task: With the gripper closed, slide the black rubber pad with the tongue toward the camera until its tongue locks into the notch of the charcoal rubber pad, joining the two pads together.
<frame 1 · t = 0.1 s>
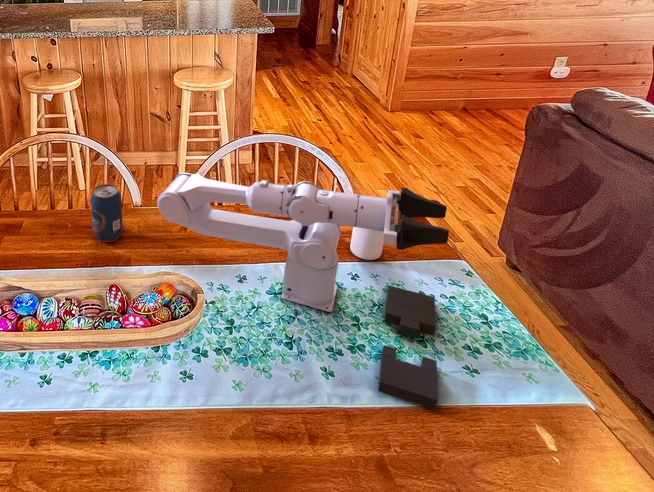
hand: (447, 223, 83), 22 cm above the table, tool horizontal, fingers open, 7 cm apart
soda can: (108, 235, 119), on the table
notch pad: (406, 379, 81), on the table
can: (365, 252, 111), on the table
tab pad: (408, 313, 94), on the table
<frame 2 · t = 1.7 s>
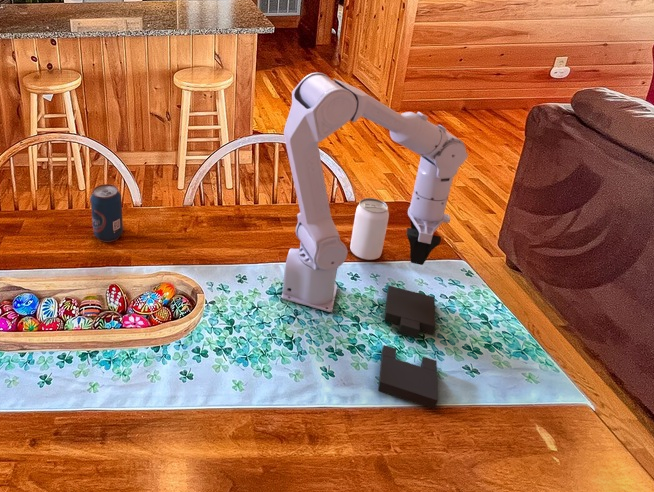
hand: (416, 252, 99), 7 cm above the table, tool pointing down, fingers open, 6 cm apart
nothing on the table moved.
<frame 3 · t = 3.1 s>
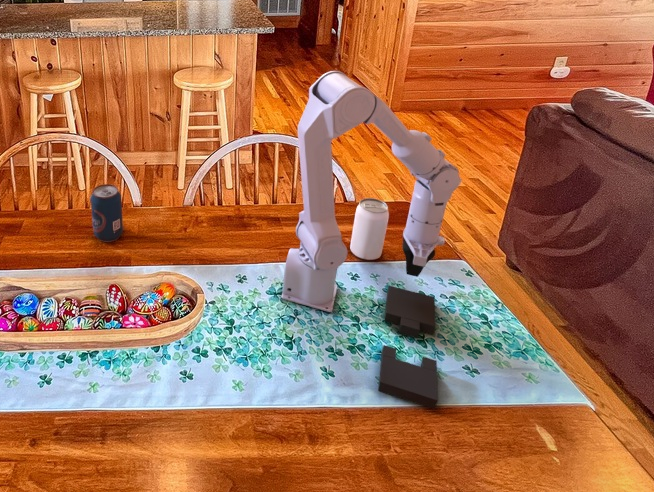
hand: (412, 273, 101), 3 cm above the table, tool pointing down, fingers closed
nothing on the table moved.
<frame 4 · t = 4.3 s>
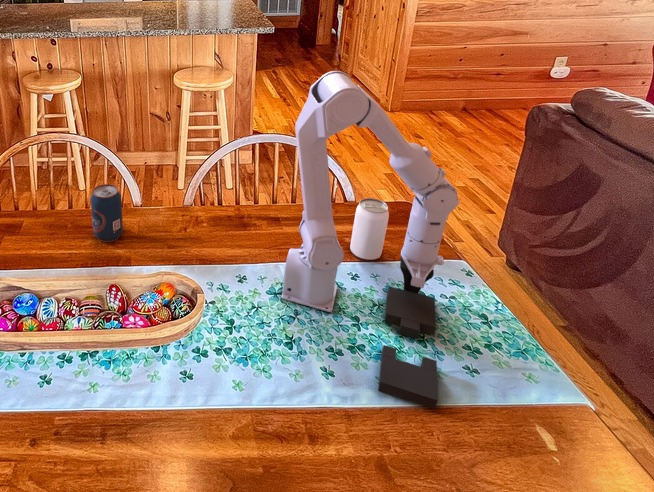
hand: (410, 293, 98), 1 cm above the table, tool pointing down, fingers closed
tab pad: (408, 313, 94), on the table, touching gripper
everything else where it was.
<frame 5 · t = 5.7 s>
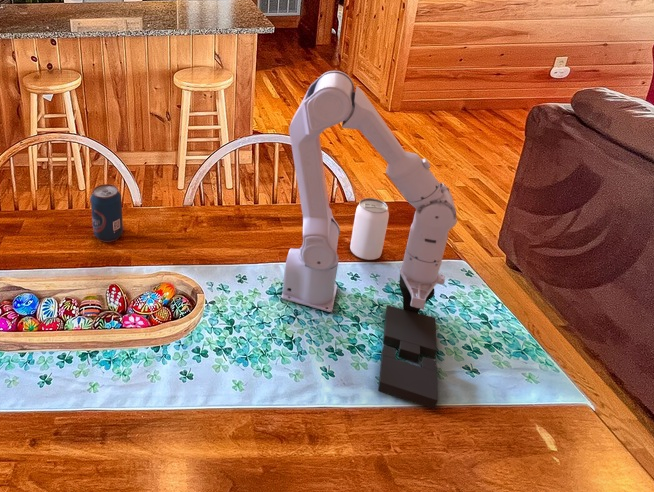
hand: (409, 312, 93), 1 cm above the table, tool pointing down, fingers closed
tab pad: (408, 334, 90), on the table, touching gripper
everything else where it was.
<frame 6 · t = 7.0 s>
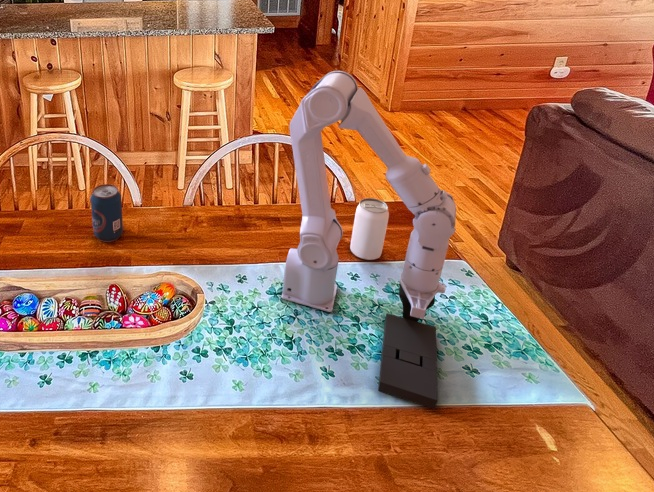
hand: (409, 321, 91), 1 cm above the table, tool pointing down, fingers closed
tab pad: (408, 344, 88), on the table, touching gripper, notch pad
everything else where it was.
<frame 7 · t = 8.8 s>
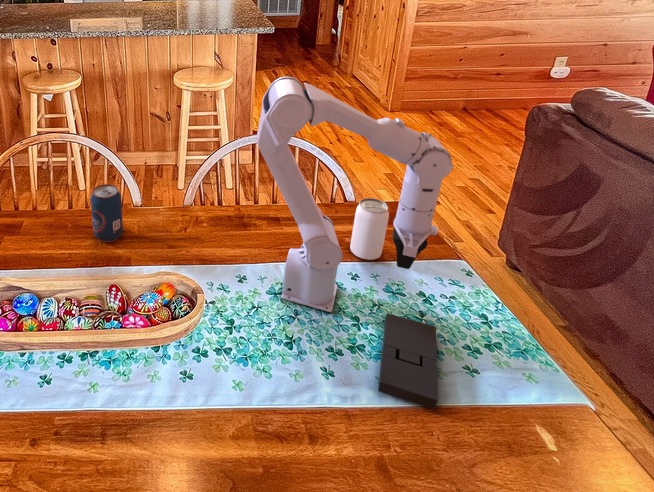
hand: (403, 265, 94), 8 cm above the table, tool pointing down, fingers closed
tab pad: (408, 343, 88), on the table
everything else where it was.
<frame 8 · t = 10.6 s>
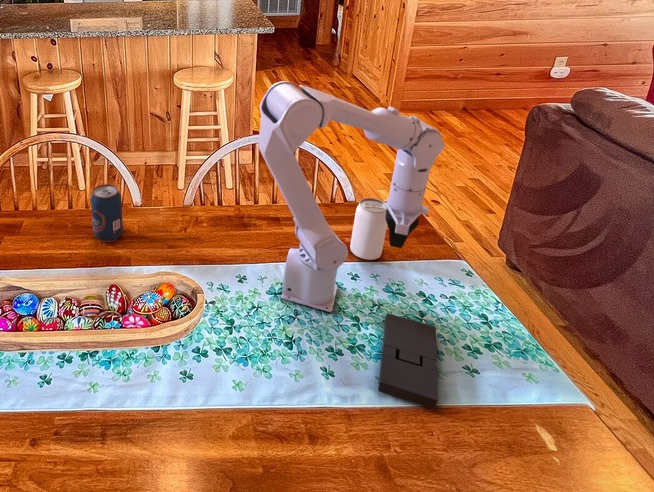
hand: (395, 245, 98), 9 cm above the table, tool pointing down, fingers closed
nothing on the table moved.
at the end: tab pad 0.1 cm from the target spot on the table beside the notch pad, on the table; tab pad 8.1 cm from the notch pad (horizontally); tab pad tilted 0° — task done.
